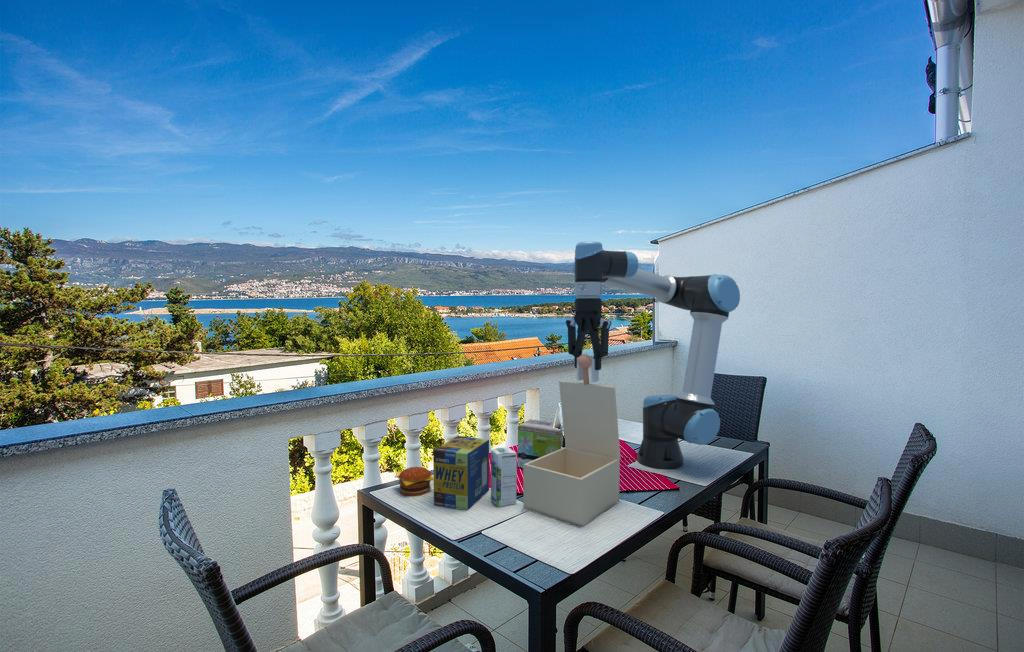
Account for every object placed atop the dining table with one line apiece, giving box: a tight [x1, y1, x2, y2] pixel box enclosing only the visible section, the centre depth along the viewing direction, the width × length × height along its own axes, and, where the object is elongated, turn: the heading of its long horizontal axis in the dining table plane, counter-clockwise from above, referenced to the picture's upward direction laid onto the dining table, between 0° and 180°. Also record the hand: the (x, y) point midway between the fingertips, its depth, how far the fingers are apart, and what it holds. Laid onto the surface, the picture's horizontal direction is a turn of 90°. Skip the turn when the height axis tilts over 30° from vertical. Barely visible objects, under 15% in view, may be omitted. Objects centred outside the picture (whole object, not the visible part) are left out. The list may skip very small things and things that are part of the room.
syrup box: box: [490, 446, 518, 508], centre depth 135 cm, size 6×6×14 cm
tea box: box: [517, 418, 562, 469], centre depth 164 cm, size 15×10×15 cm, turn 62°
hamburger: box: [395, 466, 434, 497], centre depth 145 cm, size 9×10×7 cm
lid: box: [558, 353, 621, 460], centre depth 139 cm, size 29×18×4 cm
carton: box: [522, 447, 621, 528], centre depth 133 cm, size 20×18×12 cm
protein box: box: [432, 435, 490, 511], centre depth 139 cm, size 10×15×16 cm
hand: (587, 380), depth 138 cm, fingers closed on lid, 4 cm apart
